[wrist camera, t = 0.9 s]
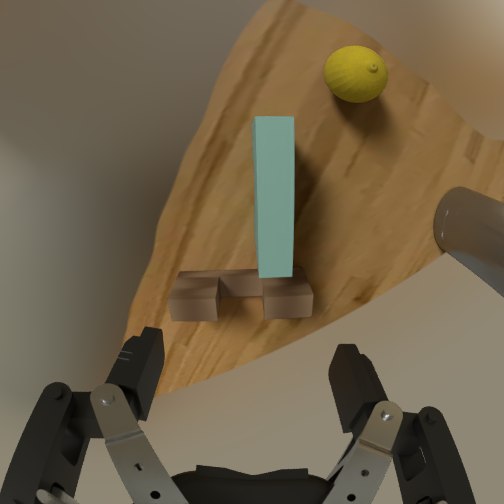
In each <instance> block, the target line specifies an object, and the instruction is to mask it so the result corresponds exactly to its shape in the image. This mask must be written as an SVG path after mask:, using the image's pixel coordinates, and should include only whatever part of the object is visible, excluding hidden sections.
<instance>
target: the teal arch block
mask: <svg viewBox="0 0 504 504" xmlns="http://www.w3.org/2000/svg"><path fill="white" fill-rule="evenodd" d="M252 152H253V162H254V191H255V204H254V227H255V245H256V254H257V263H258V273H259V278H273V277H292V269H293V239H294V117H282V116H260V117H255V118H254V120H253V122H252Z"/></svg>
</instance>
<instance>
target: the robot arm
mask: <svg viewBox="0 0 504 504" xmlns="http://www.w3.org/2000/svg"><path fill="white" fill-rule="evenodd" d="M434 235H435V239H436V241H437V243H438V245H439V246H440V248H441V249H443V250H444V251H445V252H447V253H448V254H450V255H451V256H452V257H454V258H455V259H456V260H458V261H459V262H460V263H462V264H463V265H464V266H466V267H467V268H468V269H469V270H471V271H472V272H473V273H475V274H476V275H477V276H478V277H480V278H481V279H482V280H483V281H485V282H486V283H487V284H488V285H490V286H491V287H492V288H493V289H494V290H496V291H497V292H498V293H499V294H500V295H501V296H503V297H504V203H502V202H500V201H498V200H495V199H493V198H490V197H488V196H485V195H483V194H481V193H478V192H475V191H473V190H470V189H467V188H464V187H457V188H454V189H452V190H450V191H449V192H448V193H447V194H446V195H445V196H444V197H443V199H442V200H441V202H440V204H439V206H438V208H437V211H436V215H435V219H434ZM164 359H165V352H164V343H163V333H162V329H158V328H152V327H145V328H144V329H143V331H142V333H141V336H140V337H139V336H132V337H131V338H130V339H129V340H127V341H126V342H125V344H124V346H123V348H122V350H121V352H120V354H119V356H118V358H117V360H116V362H115V364H114V366H113V368H112V370H111V372H110V374H109V376H108V378H107V380H106V382H105V383H104V384H101V385H98V386H97V387H95V388H94V389H93V391H91V392H72V391H71V389H70V388H69V386H67V385H66V384H64V383H61V382H54V383H51V384H49V385H48V386H46V387H45V389H44V390H43V392H42V394H41V396H40V398H39V400H38V402H37V404H36V406H35V408H34V410H33V412H32V414H31V416H30V418H29V420H28V422H27V424H26V427H25V429H24V431H23V433H22V436H21V438H20V440H19V443H18V445H17V448H16V450H15V452H14V455H13V458H12V461H11V463H10V466H9V468H8V471H7V474H6V477H5V480H4V483H3V486H2V489H1V492H0V504H79V503H78V502H77V501H76V500H75V499H74V496H75V491H76V487H77V483H78V479H79V476H80V472H81V468H82V465H83V461H84V457H85V454H86V450H87V448H88V444H89V441H90V438H104V439H105V445H106V447H107V450H108V452H109V454H110V457H111V459H112V461H113V463H114V465H115V468H116V469H117V471H118V474H119V475H120V477H121V480H122V482H123V484H124V486H125V487H126V489H127V491H128V493H129V495H130V496H131V498H132V500H133V502H134V503H133V504H371V503H372V501H373V499H374V497H375V495H376V493H377V491H378V489H379V487H380V485H381V483H382V481H383V478H384V476H385V474H386V472H387V469H388V467H389V465H390V462H391V460H392V458H393V462H394V465H395V470H396V473H397V478H398V482H399V487H400V491H401V495H402V500H403V504H476V502H475V499H474V496H473V492H472V489H471V487H470V483H469V480H468V477H467V474H466V471H465V469H464V466H463V463H462V460H461V458H460V455H459V452H458V450H457V447H456V445H455V443H454V440H453V438H452V435H451V433H450V430H449V428H448V426H447V424H446V421H445V419H444V417H443V415H442V413H441V412H440V411H439V410H438V409H436V408H434V407H430V406H428V407H424V408H422V410H421V411H420V412H419V413H408V412H402V410H401V408H400V407H399V406H398V405H397V404H395V403H393V402H391V401H389V400H388V398H387V396H386V393H385V391H384V389H383V387H382V384H381V382H380V380H379V378H378V375H377V373H376V371H375V369H374V366H373V364H372V362H371V361H370V360H369V359H368V358H367V357H366V356H365V355H364V354H360V353H359V351H358V348H357V346H356V345H355V344H339V345H338V347H337V349H336V352H335V354H334V357H333V360H332V362H331V364H330V367H329V381H330V385H331V388H332V392H333V396H334V399H335V403H336V407H337V410H338V414H339V418H340V422H341V425H342V429H343V433H349V432H352V434H353V437H352V439H351V441H350V442H349V444H348V446H347V448H346V449H345V451H344V453H343V454H342V456H341V458H340V459H339V461H338V463H337V464H336V466H335V467H334V469H333V470H332V472H331V473H330V474H329V475H328V477H327V478H326V479H323V478H321V477H318V476H314V475H309V474H308V469H307V468H303V469H282V470H277V471H273V472H268V473H264V474H259V475H249V474H245V473H241V472H237V471H234V470H230V469H227V468H221V467H211V466H202V465H197V466H196V471H188V472H183V473H180V474H177V475H175V476H172V477H170V476H169V474H168V473H167V471H166V470H165V468H164V466H163V465H162V463H161V462H160V460H159V458H158V457H157V455H156V453H155V452H154V450H153V448H152V447H151V445H150V443H149V441H148V439H147V437H146V436H145V434H144V432H143V431H142V430H141V428H140V427H139V425H138V420H143V421H146V420H147V417H148V413H149V410H150V407H151V403H152V400H153V397H154V394H155V391H156V387H157V384H158V381H159V378H160V375H161V372H162V369H163V365H164ZM421 449H422V451H421ZM422 452H423V454H422ZM423 455H424V457H423ZM424 458H425V460H424ZM425 462H426V463H425Z"/></svg>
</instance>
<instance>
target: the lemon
mask: <svg viewBox="0 0 504 504" xmlns="http://www.w3.org/2000/svg"><path fill="white" fill-rule="evenodd" d="M324 77H325V81H326V84H327V86H328V87H329V89H330V90H331V91H332V92H333V93H334V94H335V95H336V96H337V97H339V98H340V99H343V100H345V101H348V102H354V103H361V102H367V101H369V100H372V99H374V98H376V97H377V96H378V95H379V94H381V93H382V91H383V90H384V88H385V87H386V84H387V81H388V71H387V67H386V65H385V63H384V61H383V60H382V58H381V57H380V56H379V55H378V54H377V53H375V52H374V51H372V50H371V49H369V48H366V47H362V46H348V47H343V48H341V49H339V50H337V51H335V52H334V53H333V54H332V55H331V56H330V57H329V58H328V60H327V62H326V64H325V69H324Z"/></svg>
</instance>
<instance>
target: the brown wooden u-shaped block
mask: <svg viewBox="0 0 504 504" xmlns="http://www.w3.org/2000/svg"><path fill="white" fill-rule="evenodd" d="M242 296H262V301H263V310H264V319H265V320H268V319H287V318H302V317H312V307H313V297H314V294H313V292H312V290H311V287H310V285H309V282H308V280H307V278H306V275H305V273H304V270H303V268H302V267H297V268H293V269H292V277H273V278H259V273H258V269H247V270H218V271H182V272H179V274H178V276H177V278H176V281H175V283H174V285H173V288H172V290H171V292H170V295H169V297H168V299H167V300H168V305H169V310H170V314H171V319H172V321H218V316H219V308H220V300H221V297H242Z"/></svg>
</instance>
